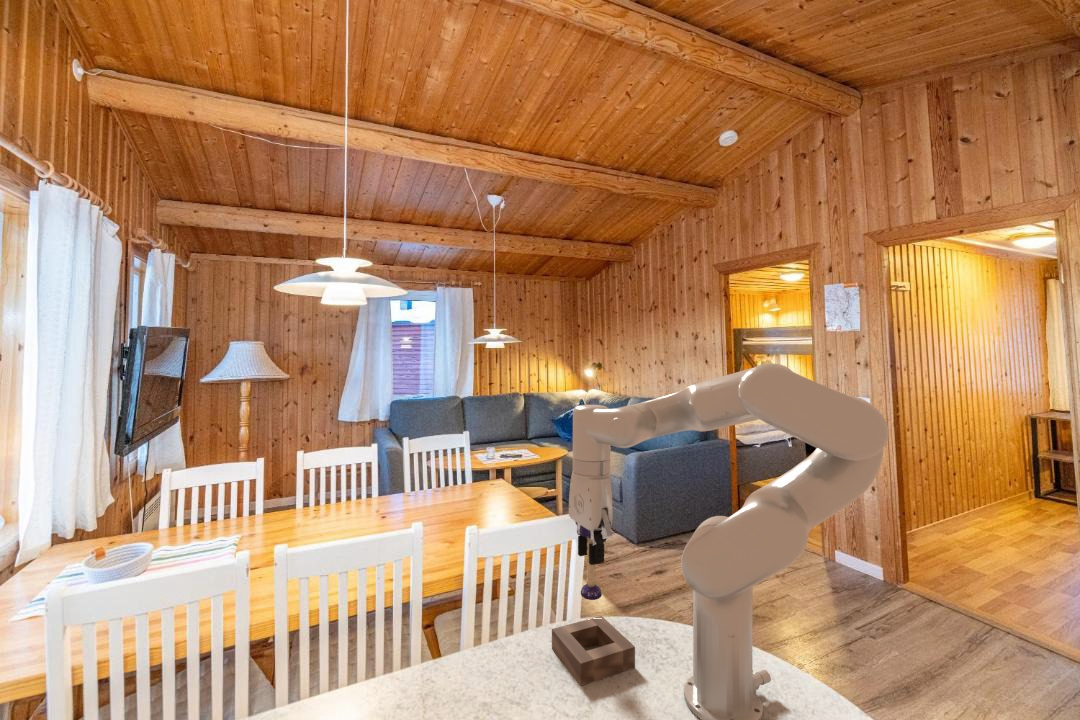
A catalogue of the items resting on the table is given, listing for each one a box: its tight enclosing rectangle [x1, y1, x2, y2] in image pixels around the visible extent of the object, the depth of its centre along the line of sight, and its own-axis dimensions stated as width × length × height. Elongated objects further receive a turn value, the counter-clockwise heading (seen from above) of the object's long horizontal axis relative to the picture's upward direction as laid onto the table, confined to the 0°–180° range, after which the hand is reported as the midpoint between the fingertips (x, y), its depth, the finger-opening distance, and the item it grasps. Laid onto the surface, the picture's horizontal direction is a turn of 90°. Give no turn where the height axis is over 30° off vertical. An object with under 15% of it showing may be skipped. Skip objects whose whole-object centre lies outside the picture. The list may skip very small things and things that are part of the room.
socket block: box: [551, 615, 636, 686], centre depth 92 cm, size 12×12×4 cm
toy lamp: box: [579, 524, 603, 601], centre depth 92 cm, size 5×5×17 cm
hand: (590, 558), depth 92 cm, fingers closed on toy lamp, 3 cm apart
